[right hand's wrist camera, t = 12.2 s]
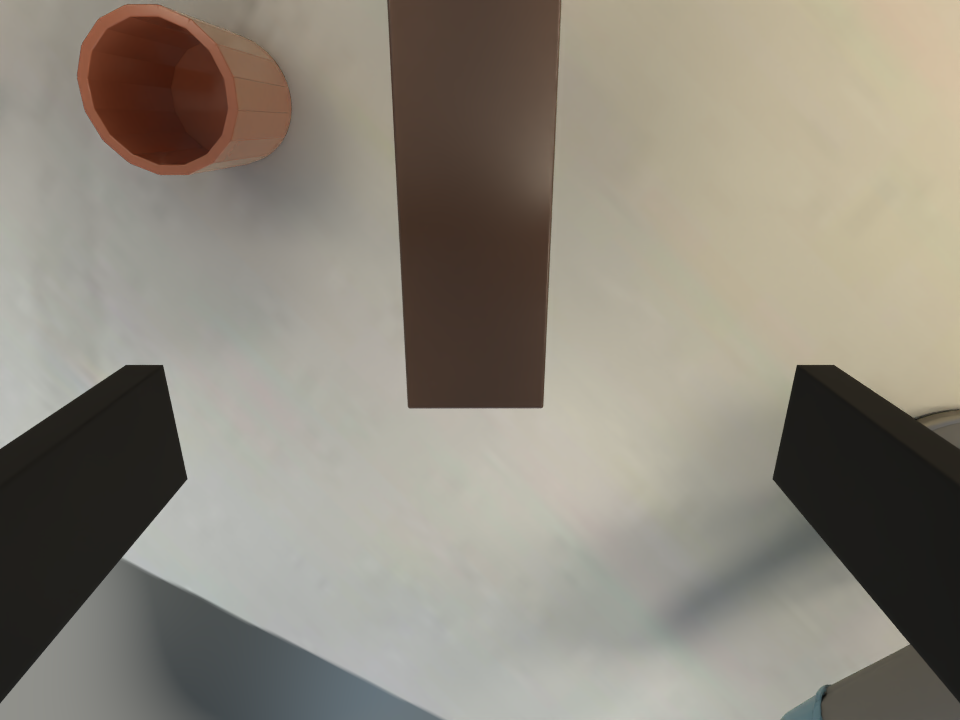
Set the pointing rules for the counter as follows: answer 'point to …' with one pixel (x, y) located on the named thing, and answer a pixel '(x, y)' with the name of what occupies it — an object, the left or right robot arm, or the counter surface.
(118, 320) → the counter surface
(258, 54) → the terracotta cup
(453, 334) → the walnut bar
